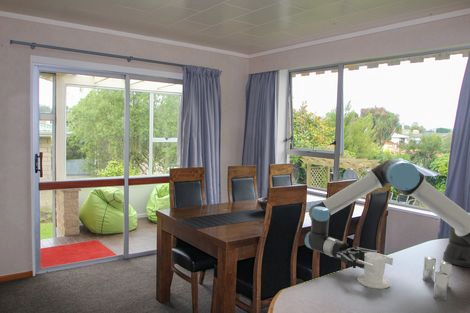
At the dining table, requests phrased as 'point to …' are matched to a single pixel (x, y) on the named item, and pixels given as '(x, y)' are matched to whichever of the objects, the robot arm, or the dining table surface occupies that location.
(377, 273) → the white cup
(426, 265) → the cylinder
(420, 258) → the dining table surface
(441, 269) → the cylinder
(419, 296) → the dining table surface
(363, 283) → the coaster
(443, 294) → the cylinder
